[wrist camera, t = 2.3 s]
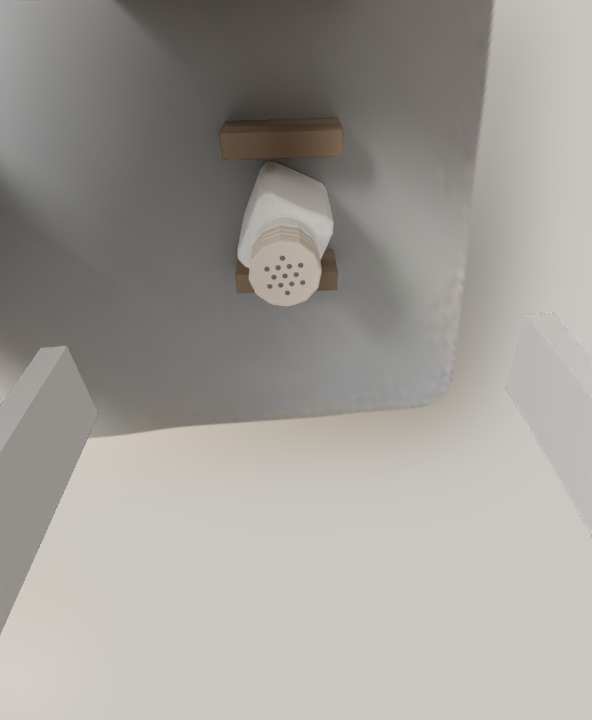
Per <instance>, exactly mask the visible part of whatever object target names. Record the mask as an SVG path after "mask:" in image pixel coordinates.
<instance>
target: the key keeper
mask: <svg viewBox="0 0 592 720" xmlns="http://www.w3.org/2000/svg"><path fill="white" fill-rule="evenodd" d="M220 141H221V150H222V159H223V160H229V159H265V158H301V157H337V156H342V144H343V129H342V127H341V125H340V123H339V121H338V119H337V118H322V119H285V120H248V121H226V122H225V124H224V126H223V128H222V130H221V132H220ZM320 262H321V268H322V273H321V278H320V283H319V288H318V289H317V290H316V291H319V290H337V274H338V272H337V267H336V262H335V257H334V252H333V250H326V251H325V252H324V254H323V256H322V258H321V260H320ZM236 284H237V293H251V292H255V291H254V289H253V287H252V285H251V283H250V281H249V268H247V267H245V266H244V265H243V264H242V263H241V262H240V261H239V260H238V263H237V269H236Z"/></svg>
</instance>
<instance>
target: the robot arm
mask: <svg viewBox="0 0 592 720" xmlns="http://www.w3.org/2000/svg"><path fill="white" fill-rule="evenodd" d="M506 389H507V391H508V393H509V395H510V396H511V398H512V399H513V401H514V403H515V405H516V407H517V408H518V410H519V412H520V414H521V415H522V417H523V419H524V420H525V422H526V424H527V426H528V427H529V429H530V431H531V433H532V434H533V436H534V438H535V439H536V441H537V443H538V445H539V446H540V448H541V450H542V451H543V453H544V455H545V456H546V458H547V460H548V461H549V463H550V465H551V467H552V469H553V470H554V472H555V474H556V475H557V477H558V479H559V481H560V482H561V484H562V486H563V488H564V489H565V491H566V492H567V494H568V496H569V498H570V500H571V501H572V503H573V505H574V506H575V508H576V510H577V511H578V513H579V515H580V517H581V518H582V520H583V522H584V524H585V525H586V527H587V529H588V530H589V532H590V534H591V536H592V356H591V354H590V353H589V352H588V351H587V350H586V349H585V348H584V346H583V345H582V344H581V343H580V342H579V341H578V340H577V338H576V337H575V336H574V335H573V334H572V333H571V332H570V331H569V329H568V328H567V327H566V326H565V325H564V324H563V323H562V321H561V320H560V319H559V318H558V317H557V316H556V315H555V313H539V314H526V317H525V321H524V324H523V328H522V331H521V335H520V338H519V342H518V345H517V349H516V352H515V356H514V359H513V363H512V367H511V370H510V374H509V378H508V381H507V384H506ZM97 417H98V412H97V410H96V408H95V406H94V403H93V401H92V399H91V397H90V395H89V392H88V390H87V388H86V386H85V384H84V382H83V379H82V377H81V375H80V373H79V371H78V369H77V366H76V364H75V362H74V360H73V358H72V355H71V353H70V351H69V349H68V347H67V346H57V347H42V348H40V350H39V351H38V352H37V354H36V355H35V357H34V358H33V360H32V361H31V362H30V364H29V365H28V367H27V368H26V370H25V371H24V372H23V374H22V375H21V377H20V378H19V380H18V381H17V382H16V384H15V385H14V387H13V388H12V390H11V391H10V392H9V394H8V395H7V397H6V398H5V400H4V401H3V402H2V404H1V405H0V634H1V632H2V629H3V627H4V625H5V623H6V621H7V618H8V616H9V614H10V611H11V609H12V607H13V605H14V602H15V600H16V598H17V596H18V594H19V591H20V589H21V587H22V585H23V582H24V580H25V578H26V576H27V573H28V571H29V569H30V567H31V564H32V562H33V560H34V558H35V555H36V553H37V551H38V549H39V547H40V544H41V542H42V540H43V538H44V535H45V533H46V531H47V529H48V526H49V524H50V522H51V520H52V517H53V515H54V513H55V511H56V508H57V506H58V504H59V502H60V499H61V497H62V495H63V493H64V490H65V488H66V486H67V484H68V482H69V479H70V477H71V475H72V472H73V470H74V468H75V466H76V463H77V461H78V459H79V457H80V455H81V452H82V450H83V448H84V446H85V443H86V441H87V439H88V437H89V434H90V432H91V430H92V428H93V425H94V423H95V421H96V419H97Z"/></svg>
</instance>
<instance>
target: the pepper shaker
mask: <svg viewBox="0 0 592 720" xmlns="http://www.w3.org/2000/svg"><path fill="white" fill-rule="evenodd" d="M333 228H334V221H333V216H332V212H331V208H330V203H329V199H328V195H327V190H326V188H325V186H324V185H323V184H322V183H321V182H319V181H317V180H315V179H312V178H310V177H308V176H306V175H303V174H301V173H299V172H297V171H294V170H292V169H290V168H288V167H285V166H283V165H281V164H279V163H276V162H266V163H265V164H264V165H263V166H262V167H261V169H260V172H259V175H258V177H257V180H256V183H255V185H254V188H253V191H252V194H251V196H250V199H249V202H248V204H247V207H246V210H245V212H244V217H243V223H242V228H241V233H240V239H239V244H238V250H237V254H238V260H239V261H240V262H241V263H242V264H243V265H244V266H245V267H247V268H249V281H250V283H251V285H252V287H253V289H254V291H255V293H256V295H258V296H259V297H261V298H262V299H264V300H265V301H267V302H268V303H270V304H271V305H278V306H287V307H290V306H293V305H296V304H299V303H302V302H305V301H307V300H308V299H309V298H310V296H311V295H312V294H313V293H314V292H315V291H316V290H317V289H318V288H319V283H320V278H321V273H322V268H321V262H320V260H321V258H322V256H323V254H324V252H325V250H326V247H327V245H328V243H329V241H330V238H331V236H332V234H333Z"/></svg>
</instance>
